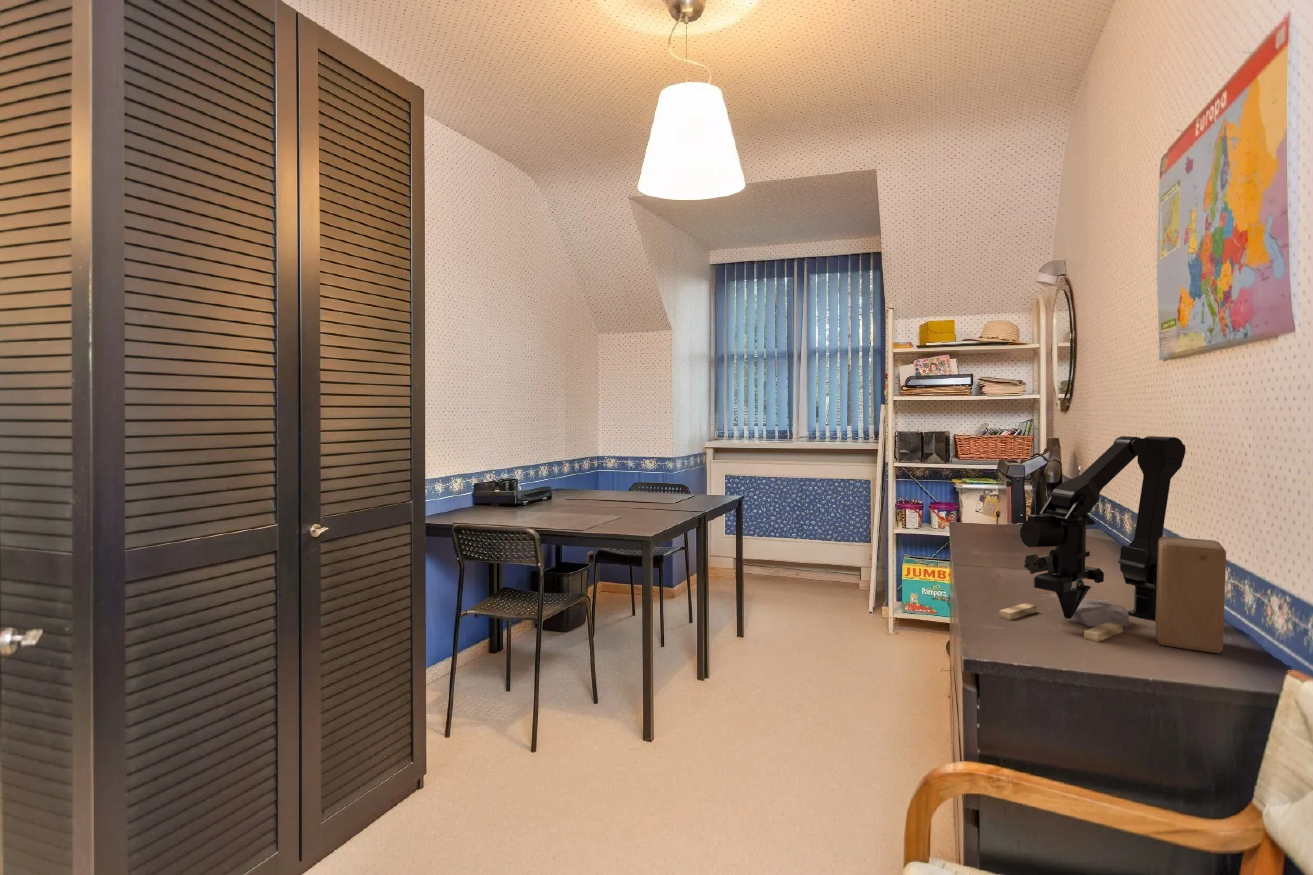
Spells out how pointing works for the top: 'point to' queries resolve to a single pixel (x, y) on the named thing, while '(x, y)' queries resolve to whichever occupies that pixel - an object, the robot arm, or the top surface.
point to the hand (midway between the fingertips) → (1068, 618)
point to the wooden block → (1190, 594)
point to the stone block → (1100, 613)
